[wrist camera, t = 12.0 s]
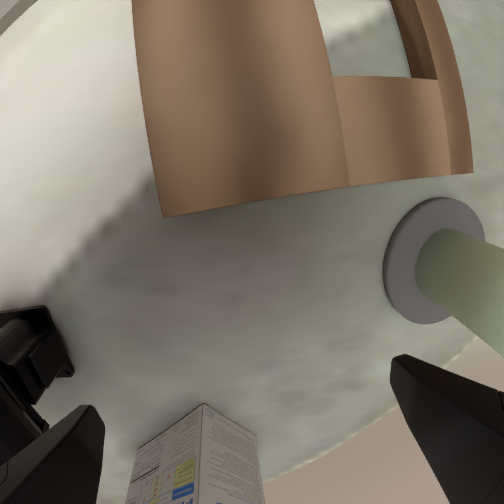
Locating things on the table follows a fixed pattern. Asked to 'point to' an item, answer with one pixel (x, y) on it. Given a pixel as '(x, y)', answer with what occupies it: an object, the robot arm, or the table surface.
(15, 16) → the award plaque
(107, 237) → the table surface
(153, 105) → the puzzle board
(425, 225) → the coaster
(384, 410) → the table surface
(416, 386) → the robot arm
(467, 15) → the table surface
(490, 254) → the peg
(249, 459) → the light bulb box
